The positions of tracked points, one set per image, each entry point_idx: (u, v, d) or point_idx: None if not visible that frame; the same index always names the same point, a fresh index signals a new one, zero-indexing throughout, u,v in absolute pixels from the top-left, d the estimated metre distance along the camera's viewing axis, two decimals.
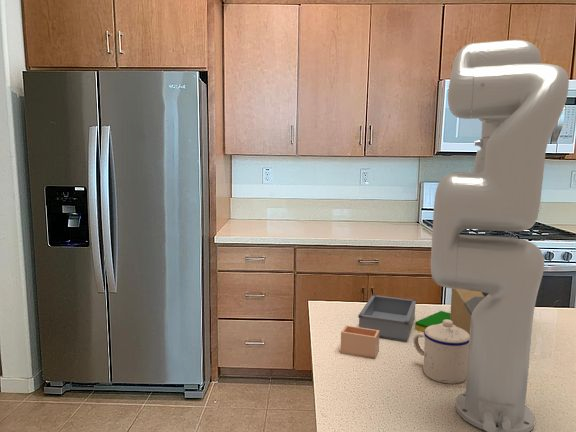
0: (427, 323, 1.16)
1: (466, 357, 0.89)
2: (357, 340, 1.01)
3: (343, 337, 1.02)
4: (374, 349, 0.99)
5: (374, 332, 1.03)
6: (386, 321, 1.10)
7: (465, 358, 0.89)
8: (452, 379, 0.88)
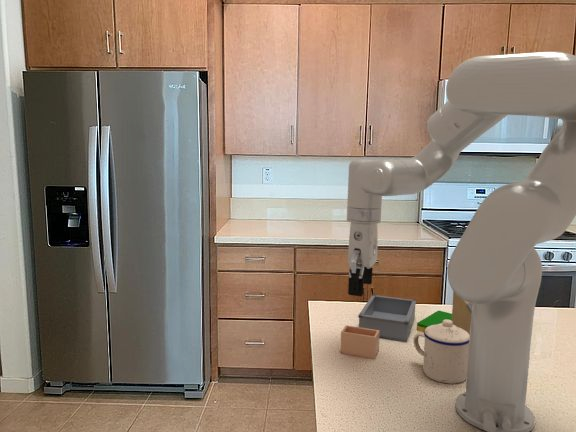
0: (428, 323, 1.16)
1: (466, 357, 0.89)
2: (357, 340, 1.01)
3: (343, 337, 1.02)
4: (374, 349, 0.99)
5: (374, 332, 1.03)
6: (386, 321, 1.10)
7: (465, 358, 0.89)
8: (452, 379, 0.88)
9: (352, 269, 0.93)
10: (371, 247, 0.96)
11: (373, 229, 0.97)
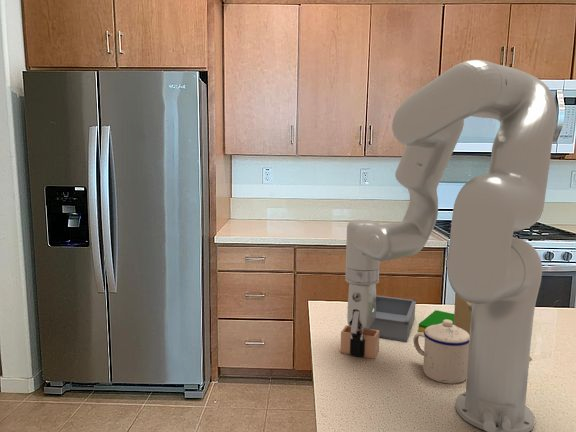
0: (430, 324, 1.15)
1: (466, 357, 0.89)
2: None
3: (343, 337, 1.02)
4: (374, 349, 0.99)
5: (374, 332, 1.03)
6: (386, 321, 1.10)
7: (465, 358, 0.89)
8: (452, 379, 0.88)
9: (353, 335, 0.97)
10: (370, 308, 0.97)
11: (371, 289, 0.98)
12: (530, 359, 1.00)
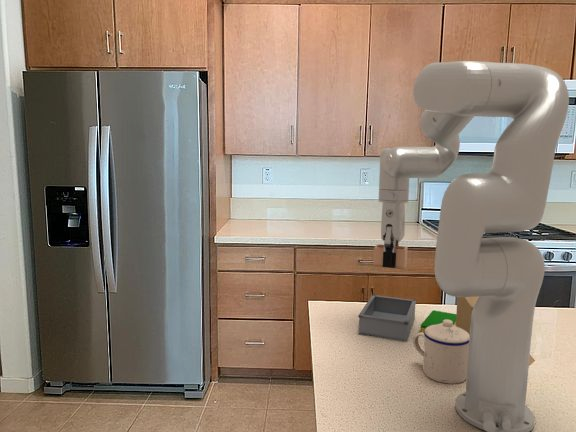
0: (432, 324, 1.15)
1: (466, 357, 0.89)
2: None
3: (376, 252, 1.16)
4: (404, 260, 1.13)
5: (403, 248, 1.17)
6: (386, 321, 1.10)
7: (465, 358, 0.89)
8: (452, 379, 0.88)
9: (387, 246, 1.11)
10: (401, 223, 1.11)
11: (402, 208, 1.12)
12: (533, 360, 0.99)
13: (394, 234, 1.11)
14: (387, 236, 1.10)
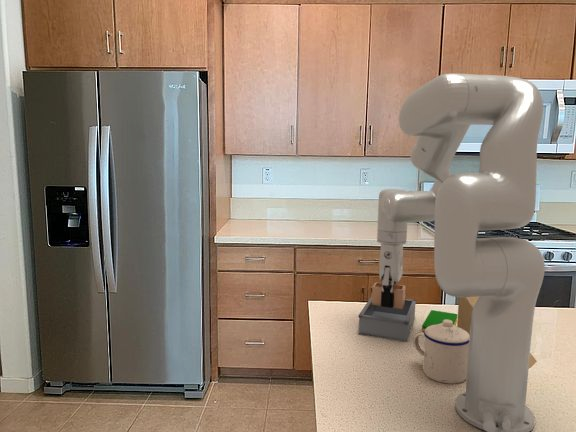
0: None
1: (466, 357, 0.89)
2: None
3: (374, 291, 1.17)
4: (401, 300, 1.15)
5: (401, 287, 1.19)
6: (386, 321, 1.10)
7: (465, 358, 0.89)
8: (452, 379, 0.88)
9: (385, 287, 1.13)
10: (399, 264, 1.13)
11: (400, 249, 1.14)
12: (535, 361, 0.99)
13: (392, 275, 1.12)
14: (385, 278, 1.12)
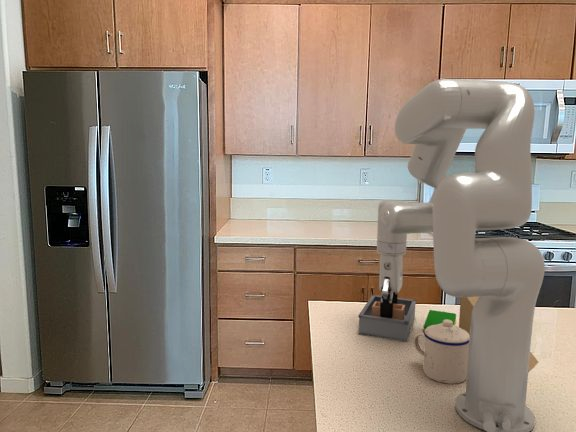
0: None
1: (466, 357, 0.89)
2: None
3: (374, 310, 1.18)
4: None
5: (400, 306, 1.19)
6: (386, 321, 1.10)
7: (465, 358, 0.89)
8: (452, 379, 0.88)
9: (384, 297, 1.11)
10: (399, 275, 1.13)
11: (400, 260, 1.14)
12: (536, 361, 0.99)
13: (392, 283, 1.12)
14: (385, 284, 1.12)
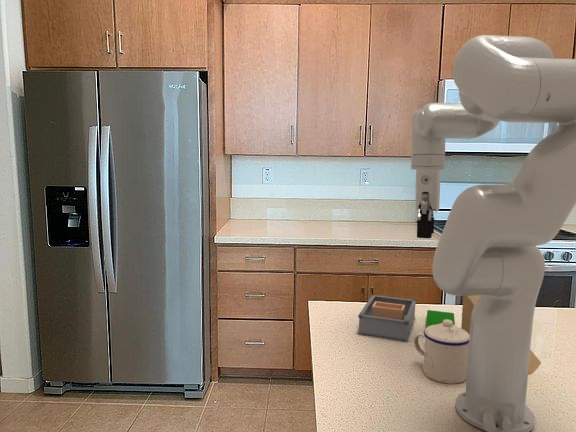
0: None
1: (466, 357, 0.89)
2: (386, 313, 1.17)
3: (374, 310, 1.18)
4: None
5: (400, 306, 1.19)
6: (386, 321, 1.10)
7: (465, 358, 0.89)
8: (452, 379, 0.88)
9: (423, 210, 0.98)
10: (438, 191, 1.00)
11: (439, 174, 1.01)
12: (539, 362, 0.98)
13: (431, 196, 0.99)
14: (424, 196, 0.99)
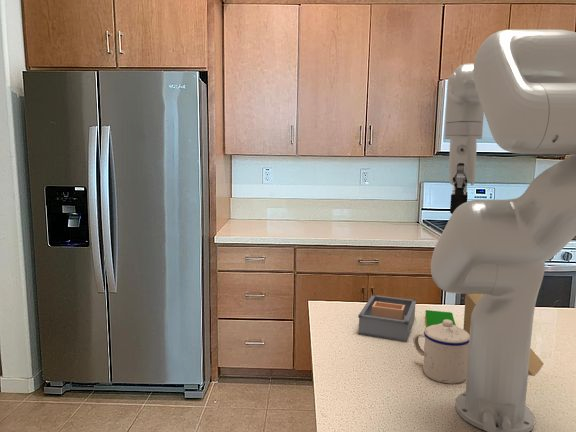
0: None
1: (466, 357, 0.89)
2: (386, 313, 1.17)
3: (374, 310, 1.18)
4: None
5: (400, 306, 1.19)
6: (386, 321, 1.10)
7: (465, 358, 0.89)
8: (452, 379, 0.88)
9: (458, 183, 0.89)
10: (475, 162, 0.92)
11: (476, 144, 0.92)
12: (542, 363, 0.98)
13: (468, 168, 0.91)
14: (460, 167, 0.90)
